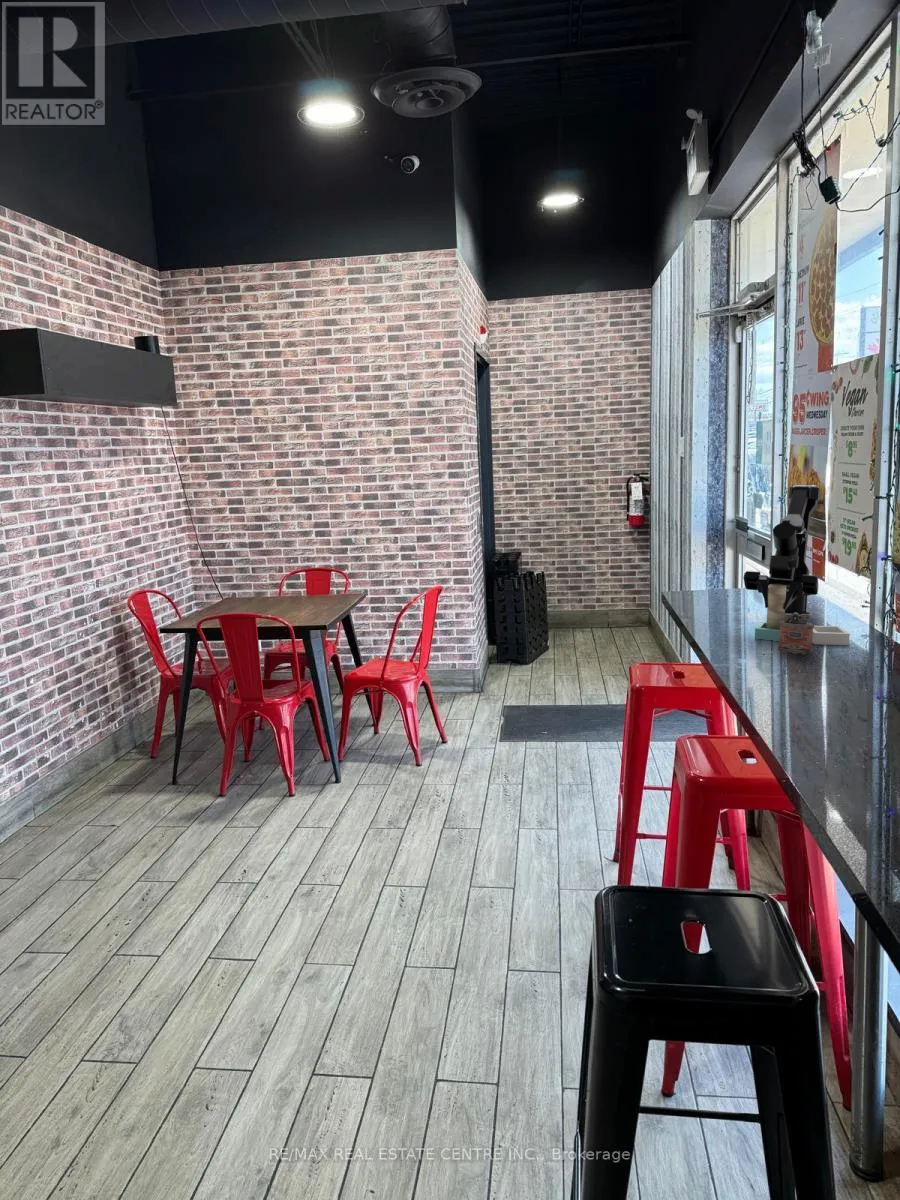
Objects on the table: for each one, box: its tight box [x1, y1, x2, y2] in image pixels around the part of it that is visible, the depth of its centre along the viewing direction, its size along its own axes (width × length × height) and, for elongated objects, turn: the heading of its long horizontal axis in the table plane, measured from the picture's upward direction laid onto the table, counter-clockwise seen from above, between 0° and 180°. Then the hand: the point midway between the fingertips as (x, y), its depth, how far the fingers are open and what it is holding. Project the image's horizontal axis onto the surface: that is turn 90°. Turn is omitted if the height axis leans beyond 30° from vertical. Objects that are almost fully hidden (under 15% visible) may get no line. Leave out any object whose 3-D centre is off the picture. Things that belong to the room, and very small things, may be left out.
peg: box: [766, 584, 786, 630], centre depth 223 cm, size 4×4×13 cm
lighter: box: [777, 612, 815, 655], centre depth 209 cm, size 8×3×10 cm, turn 62°
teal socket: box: [754, 621, 780, 642], centre depth 224 cm, size 9×9×3 cm
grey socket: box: [812, 625, 851, 646], centre depth 220 cm, size 9×9×3 cm
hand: (775, 608), depth 222 cm, fingers closed on peg, 4 cm apart
